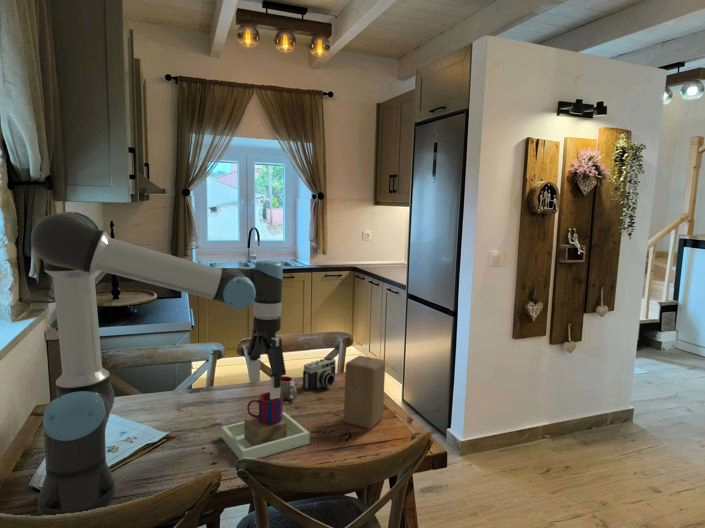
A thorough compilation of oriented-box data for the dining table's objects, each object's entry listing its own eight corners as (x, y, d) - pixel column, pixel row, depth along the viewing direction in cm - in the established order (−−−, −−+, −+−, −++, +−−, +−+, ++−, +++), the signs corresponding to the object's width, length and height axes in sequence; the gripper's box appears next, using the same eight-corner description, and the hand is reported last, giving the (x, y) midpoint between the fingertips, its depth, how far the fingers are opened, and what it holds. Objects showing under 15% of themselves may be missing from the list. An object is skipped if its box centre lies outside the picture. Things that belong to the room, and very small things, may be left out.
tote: (242, 465, 123) (243, 451, 123) (221, 440, 136) (221, 426, 136) (309, 445, 135) (309, 432, 134) (283, 423, 148) (284, 411, 147)
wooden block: (342, 423, 150) (344, 362, 147) (356, 411, 159) (359, 354, 156) (370, 430, 145) (373, 368, 143) (383, 418, 154) (386, 359, 152)
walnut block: (257, 451, 129) (257, 430, 128) (244, 437, 136) (244, 418, 136) (286, 443, 134) (286, 423, 134) (272, 430, 142) (273, 411, 141)
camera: (314, 394, 171) (314, 367, 170) (300, 387, 178) (300, 361, 177) (343, 386, 180) (343, 361, 179) (329, 380, 187) (329, 355, 186)
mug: (272, 394, 170) (272, 376, 170) (290, 391, 174) (290, 373, 173) (285, 407, 160) (285, 388, 159) (303, 403, 164) (304, 384, 163)
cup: (283, 423, 133) (284, 400, 132) (247, 426, 131) (247, 403, 130) (281, 413, 140) (281, 391, 139) (246, 415, 137) (246, 393, 136)
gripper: (300, 325, 123) (297, 403, 125) (261, 306, 143) (258, 373, 146) (274, 328, 119) (271, 408, 121) (237, 308, 139) (235, 377, 141)
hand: (264, 389), depth 133 cm, fingers open, 13 cm apart
